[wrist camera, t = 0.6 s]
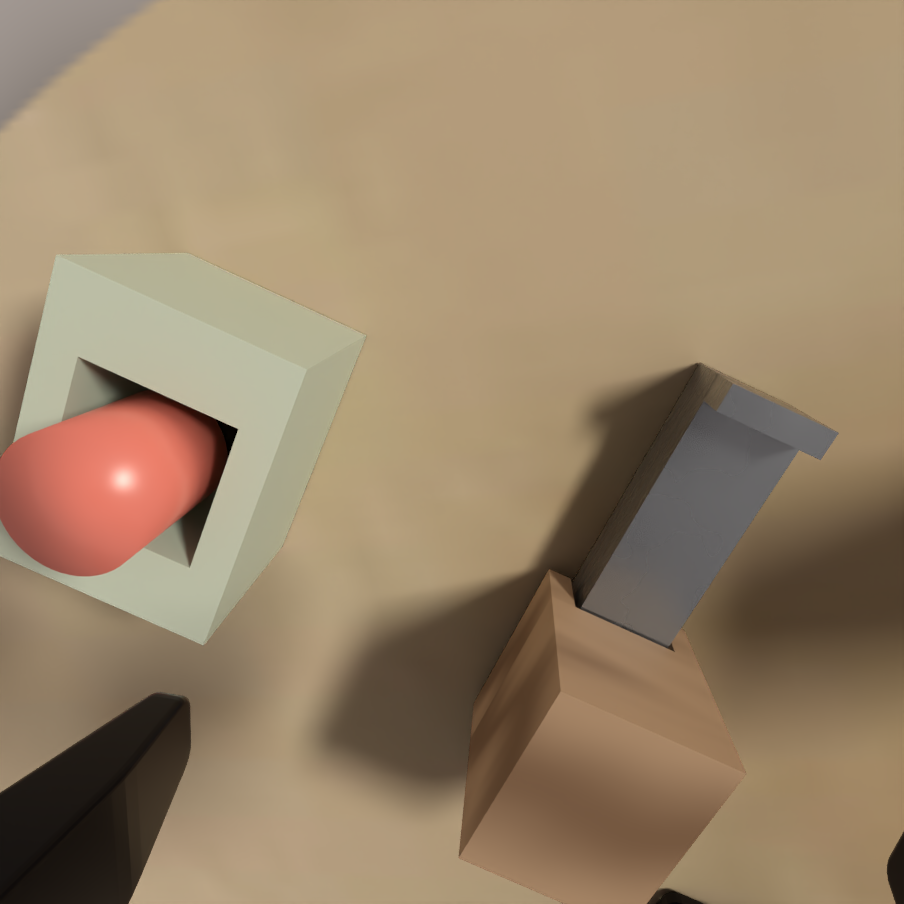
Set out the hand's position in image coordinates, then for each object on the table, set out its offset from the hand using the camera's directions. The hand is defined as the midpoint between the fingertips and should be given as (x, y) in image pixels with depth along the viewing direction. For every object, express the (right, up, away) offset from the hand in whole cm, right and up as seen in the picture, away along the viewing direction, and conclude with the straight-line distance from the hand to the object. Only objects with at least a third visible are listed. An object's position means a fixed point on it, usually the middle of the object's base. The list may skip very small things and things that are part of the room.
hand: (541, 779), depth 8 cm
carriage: (+3, -3, +15) cm, 16 cm away
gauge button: (-9, +4, +9) cm, 13 cm away
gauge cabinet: (-8, +5, +13) cm, 17 cm away
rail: (+5, 0, +14) cm, 15 cm away
